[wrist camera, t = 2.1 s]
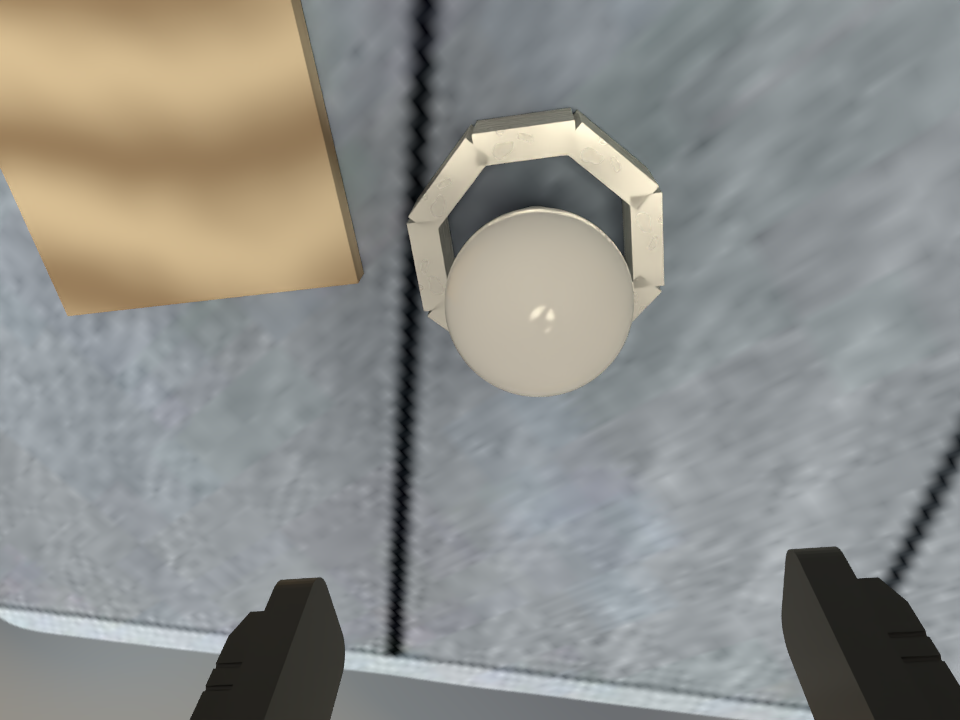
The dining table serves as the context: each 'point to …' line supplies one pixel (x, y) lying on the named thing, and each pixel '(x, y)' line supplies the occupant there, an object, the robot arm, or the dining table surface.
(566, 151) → the collar
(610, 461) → the dining table surface
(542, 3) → the dining table surface
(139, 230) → the oak board
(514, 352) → the lightbulb
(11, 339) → the dining table surface
